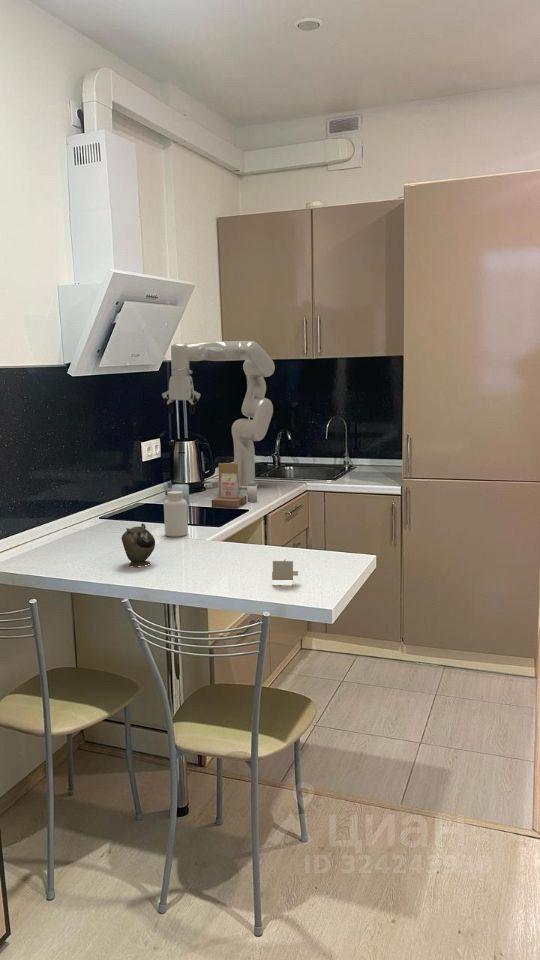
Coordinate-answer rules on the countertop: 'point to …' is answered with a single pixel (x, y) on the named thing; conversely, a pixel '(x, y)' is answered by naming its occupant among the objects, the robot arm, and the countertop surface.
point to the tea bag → (229, 486)
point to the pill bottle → (175, 514)
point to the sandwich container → (228, 471)
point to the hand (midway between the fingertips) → (181, 413)
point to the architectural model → (283, 570)
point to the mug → (183, 488)
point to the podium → (229, 502)
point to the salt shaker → (252, 491)
